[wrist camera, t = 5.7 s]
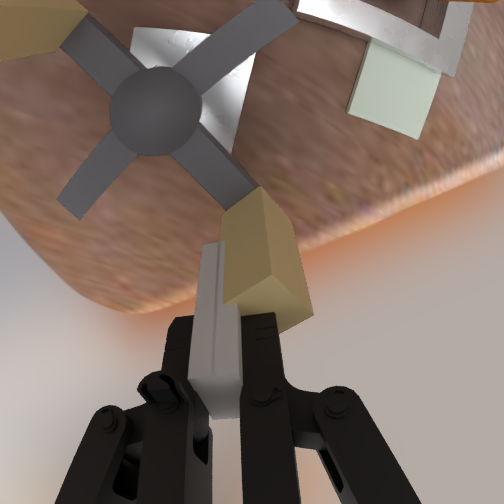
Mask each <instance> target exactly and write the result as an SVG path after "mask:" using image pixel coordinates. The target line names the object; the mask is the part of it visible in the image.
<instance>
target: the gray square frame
mask: <svg viewBox="0 0 504 504" xmlns="http://www.w3.org/2000/svg"><path fill="white" fill-rule="evenodd" d="M473 5H474V2H455V1H442V0H427V4H426V8H425V11H424V15H423V19H422V22H421V26H420V28H418V27H416V26H414V25H412V24H410V23H408V22H406V21H404V20H402V19H400V18H398V17H396V16H394V15H392V14H390V13H387V12H385V11H383V10H381V9H379V8H376V7H374V6H372V5H369V4H367V3H364V2H362V1H360V0H294V3H293V6H292V10H291V12H292V13H293V14H294V15H295V16H296V18H300V19H303V20H307V21H310V22H313V23H316V24H320V25H323V26H326V27H329V28H332V29H335V30H338V31H340V32H343V33H346V34H349V35H351V36H354V37H357V38H359V39H362V40H364V41H367V42H372V43H375V44H377V45H379V46H382V47H384V48H386V49H388V50H391V51H393V52H395V53H397V54H399V55H401V56H403V57H406V58H408V59H410V60H412V61H414V62H416V63H418V64H420V65H422V66H423V67H425V68H427V69H429V70H431V71H433V72H435V73H437V74H441V75H445V76H448V77H452V78H454V76H455V72H456V69H457V66H458V63H459V59H460V56H461V52H462V49H463V45H464V42H465V38H466V34H467V30H468V26H469V22H470V18H471V14H472V10H473Z"/></svg>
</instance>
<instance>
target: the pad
mask: <svg viewBox="0 0 504 504" xmlns="http://www.w3.org/2000/svg"><path fill="white" fill-rule="evenodd" d="M440 76H441V74H437V73H435V72H433V71H431V70H429V69H427V68H425V67H423V66H422V65H420V64H418V63H416V62H414V61H412V60H410V59H408V58H406V57H403V56H401V55H399V54H397V53H395V52H393V51H391V50H388V49H386V48H384V47H382V46H379V45H377V44H375V43H372V42H368V43H367V46H366V49H365V53H364V56H363V59H362V62H361V66H360V69H359V72H358V75H357V78H356V81H355V85H354V88H353V91H352V94H351V97H350V100H349V103H348V106H347V109H346V112H347V113H348V114H351V115H354V116H357V117H360V118H363V119H366V120H368V121H371V122H374V123H377V124H379V125H382V126H385V127H387V128H390V129H392V130H395V131H397V132H400V133H402V134H405V135H407V136H410V137H412V138H414V139H417V140H418V138H419V136H420V133H421V130H422V128H423V125H424V122H425V120H426V117H427V114H428V112H429V109H430V106H431V103H432V100H433V97H434V94H435V92H436V89H437V86H438V83H439V79H440Z"/></svg>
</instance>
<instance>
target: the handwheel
mask: <svg viewBox="0 0 504 504" xmlns="http://www.w3.org/2000/svg"><path fill="white" fill-rule="evenodd" d="M88 12H89V11H88V10H87V9H85V8H84V7H83V6H82V5H81V4H80V3H79V2H78V1H76V0H0V62H4V61H9V60H13V59H18V58H23V57H28V56H33V55H39V54H45V53H52V52H56V51H57V50H58V48H59V47H60V48H61V49H62V50H63V51H64V52H65V53H66V54H67V55H68V56H69V57H71V58H72V59H73V60H74V61H75V62H76V63H77V64H78V65H79V66H80V67H81V68H82V69H83V70H84V71H85V72H86V73H87V74H88V75H89V76H90V77H91V78H92V79H93V80H94V81H95V82H96V83H97V84H98V85H99V86H100V87H102V88H103V89H104V90H105V91H106V92H107V93H108V94H109V95H110V96H111V97H112V100H111V104H110V122H111V126H112V129H111V130H110V131H109V132H108V134H107V135H106V136H105V137H104V138H103V139H102V141H101V142H100V143H99V144H98V145H97V147H96V148H95V149H94V150H93V151H92V153H91V154H90V155H89V156H88V158H87V159H86V160H85V161H84V163H83V164H82V165H81V166H80V168H79V169H78V170H77V171H76V173H75V174H74V175H73V177H72V178H71V179H70V181H69V182H68V183H67V185H66V186H65V187H64V189H63V190H62V192H61V193H60V194H59V196H58V197H57V199H56V200H58V201H59V202H60V203H61V204H62V205H63V206H64V207H65V208H66V209H67V210H68V211H70V212H71V213H72V214H73V215H74V216H75V217H76V218H77V219H78V220H79V221H80V219H81V218H82V217H83V216H84V214H85V213H86V212H87V211H88V210H89V208H90V207H91V206H92V205H93V204H94V203H95V201H96V200H97V199H98V198H99V197H100V196H101V195H102V193H103V192H104V191H105V190H106V189H107V188H108V187H109V186H110V184H111V183H112V182H113V181H114V180H115V179H116V178H117V177H118V176H119V175H120V173H121V172H122V171H123V170H124V169H125V168H126V167H127V166H128V165H129V164H130V163H131V162H132V161H133V160H134V159H135V158H136V157H137V156H138V155H139V154H141V155H145V156H162V155H166V154H170V155H171V156H172V157H173V158H174V159H175V160H176V161H177V162H178V163H179V164H180V165H181V166H182V167H183V168H184V169H185V170H186V171H187V172H188V173H189V174H190V175H191V176H192V177H193V178H194V179H195V180H196V181H197V182H198V183H199V184H200V185H201V186H202V187H203V188H204V189H205V190H206V191H207V192H208V193H209V194H210V195H211V196H212V197H213V198H214V199H215V200H216V201H217V202H218V203H219V204H220V205H221V206H222V207H223V208H224V209H225V210H226V212H224V213H223V214H222V217H221V227H220V238H219V242H221V241H225V257H224V282H223V305H227V304H235V303H237V305H238V308H239V312H240V316H247V315H254V314H262V313H269V312H275V314H276V320H277V326H278V332H279V334H280V333H282V332H284V331H286V330H288V329H290V328H291V327H293V326H295V325H297V324H299V323H300V322H302V321H304V320H306V319H308V318H310V317H311V316H313V315H314V313H313V310H312V305H311V300H310V296H309V292H308V287H307V283H306V279H305V275H304V270H303V267H302V263H301V258H300V254H299V250H298V246H297V242H296V238H295V234H294V230H293V226H292V223H291V219H290V218H289V217H288V216H287V215H286V214H285V212H284V211H283V210H282V209H281V208H280V207H279V206H278V204H277V203H276V202H275V201H274V200H273V199H272V198H271V196H270V195H269V194H268V193H267V192H266V191H265V190H264V189H263V188H262V186H261V185H260V186H259V185H258V184H257V183H256V182H255V180H254V179H253V178H252V177H251V176H250V175H249V174H248V173H247V172H246V171H245V169H244V168H243V167H242V166H241V165H240V164H239V163H238V162H237V161H236V160H235V159H234V157H233V156H232V155H231V154H230V153H229V152H228V151H227V150H226V149H225V148H224V147H223V146H222V145H221V143H220V142H219V141H218V140H217V139H216V138H215V137H214V136H213V135H212V134H211V133H210V132H209V131H208V130H207V129H206V128H205V127H204V126H203V124H202V123H201V122H200V118H201V115H202V108H203V103H202V95H203V94H204V93H205V92H206V91H208V90H209V89H210V88H211V87H212V86H214V85H215V84H216V83H217V82H218V81H220V80H221V79H222V78H223V77H225V76H226V75H227V74H228V73H230V72H231V71H232V70H233V69H235V68H236V67H237V66H239V65H240V64H241V63H242V62H244V61H245V60H246V59H248V58H249V57H250V56H252V55H253V54H254V53H256V52H257V51H258V50H260V49H261V48H263V47H264V46H265V45H267V44H268V43H270V42H271V41H272V40H274V39H275V38H277V37H278V36H280V35H281V34H283V33H284V32H286V31H287V30H289V29H290V28H292V27H293V26H295V25H296V24H298V23H299V22H300V21H299V20H298V19H297V18H296V16H295V15H294V14H293V13H292V12H291V11H290V10H289V8H288V7H287V6H286V5H285V4H284V3H283V2H282V1H281V0H257V1H256V2H254V3H253V4H251V5H250V6H248V7H247V8H246V9H244V10H243V11H241V12H240V13H239V14H237V15H236V16H234V17H233V18H232V19H230V20H229V21H228V22H226V23H225V24H224V25H222V26H221V27H220V28H219V29H217V30H216V31H215V32H213V33H212V34H211V35H210V36H208V37H207V38H206V39H205V40H203V41H202V42H201V43H200V44H199V45H197V46H196V47H195V48H194V49H193V50H191V51H190V52H189V53H188V54H187V55H186V56H185V57H183V58H182V59H181V60H180V61H179V62H178V63H177V64H175V65H174V66H173V67H168V66H157V67H152V68H148V69H147V68H146V67H145V66H144V65H143V64H142V63H141V62H140V61H139V60H138V59H137V58H136V57H135V56H134V55H133V54H132V53H131V52H130V51H129V50H128V49H127V48H126V47H125V46H124V45H122V44H121V43H120V42H119V41H118V40H117V39H116V38H115V37H114V36H113V35H112V34H111V33H110V32H109V31H108V30H106V29H105V28H104V27H103V26H102V25H101V24H100V23H99V22H98V21H97V20H96V19H95V18H93V17H92V16H91V15H90V14H89V13H88Z"/></svg>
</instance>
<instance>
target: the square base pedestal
mask: <svg viewBox="0 0 504 504" xmlns="http://www.w3.org/2000/svg"><path fill="white" fill-rule="evenodd" d="M210 35H211V34H204V33H197V32H189V31H181V30H171V29H159V28H145V27H134V31H133V36H132V41H131V47H130V52H131V53H132V54H133V55H134V56H135V57H136V58H137V59H138V60H139V61H140V62H141V63H142V64H143V65H144V66H145V67H146V68H147V69H148V68H152V67H157V66H168V67H173V66H174V65H175V64H177V63H178V62H179V61H180V60H181V59H182V58H183V57H185V56H186V55H187V54H188V53H189V52H190V51H191V50H193V49H194V48H195V47H196V46H197V45H199V44H200V43H201V42H202V41H203V40H205V39H206V38H207V37H208V36H210ZM255 54H256V53H254V54H253V55H252V56H250V57H249V58H248V59H246V60H245V61H244V62H242V63H241V64H240V65H239V66H237V67H236V68H235V69H233V70H232V71H231V72H230V73H228V74H227V75H226V76H225V77H223V78H222V79H221V80H220V81H218V82H217V83H216V84H215V85H214V86H212V87H211V88H210V89H209V90H208V91H206V92H205V93H204V94H203V95H202V103H203V108H202V115H201V118H200V122H201V123H202V124H203V126H204V127H205V128H206V129H207V130H208V131H209V132H210V133H211V134H212V135H213V136H214V137H215V138H216V139H217V140H218V141H219V142H220V143H221V145H222V146H223V147H224V148H225V149H226V150H227V151H228V152H229V153H230V154H231V152H232V148H233V144H234V139H235V135H236V131H237V126H238V122H239V118H240V114H241V110H242V105H243V101H244V97H245V93H246V89H247V85H248V81H249V77H250V73H251V69H252V65H253V62H254V58H255Z"/></svg>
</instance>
